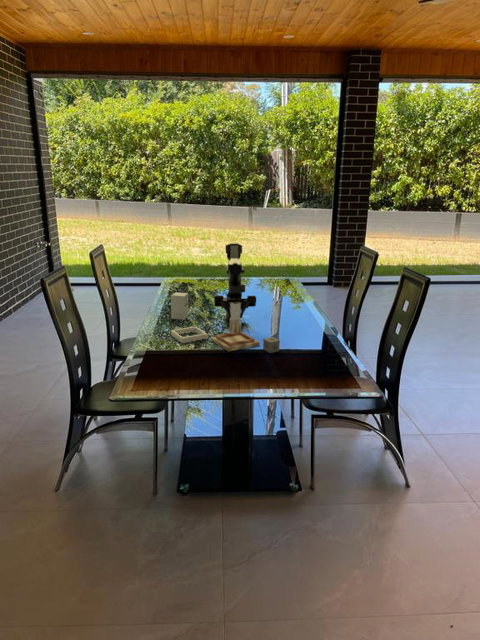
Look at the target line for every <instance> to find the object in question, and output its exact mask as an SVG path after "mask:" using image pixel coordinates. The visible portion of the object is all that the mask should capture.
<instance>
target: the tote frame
mask: <svg viewBox="0 0 480 640" xmlns="http://www.w3.org/2000/svg"><path fill="white" fill-rule="evenodd" d="M170 332H171V334H170V335H171V337H173V338H174V339H176V340H177V341H179V342H180V343H181V344H187V343H192V342H191V341H193V342H197V341H196V340H199V341H203V340H202V339H205V340H208V333H207V332H206V331H203V330H202V329H200V328H199V327H198V326H190V327H184V328H178V329H171V330H170ZM190 332H192V333H196V335H195V334H194V335H189V336H182V335H185V334H184V333H186V334H191V333H190ZM197 333H198V334H197ZM179 334H180V335H179ZM186 342H187V343H186Z"/></svg>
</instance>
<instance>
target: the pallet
mask: <svg viewBox="0 0 480 640" xmlns="http://www.w3.org/2000/svg"><path fill="white" fill-rule="evenodd" d="M211 341H212V342H213V343H214V344H216V345H218V346H219V347H220V348H222V349H224V350H226V351H227V352H232V351H236V350H237V351H238V350H242V349H248V348H252V347H259V346H260V345H261V344H260V343H261V342H260V341H259V340H256V339H255V338H254V337H251V336H250V335H248V334H246V333H244V332H243V331H242V330H241V331H240V332H237V333H233V332H226V333H222V334H217V335H216V336H212V337H211Z"/></svg>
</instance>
